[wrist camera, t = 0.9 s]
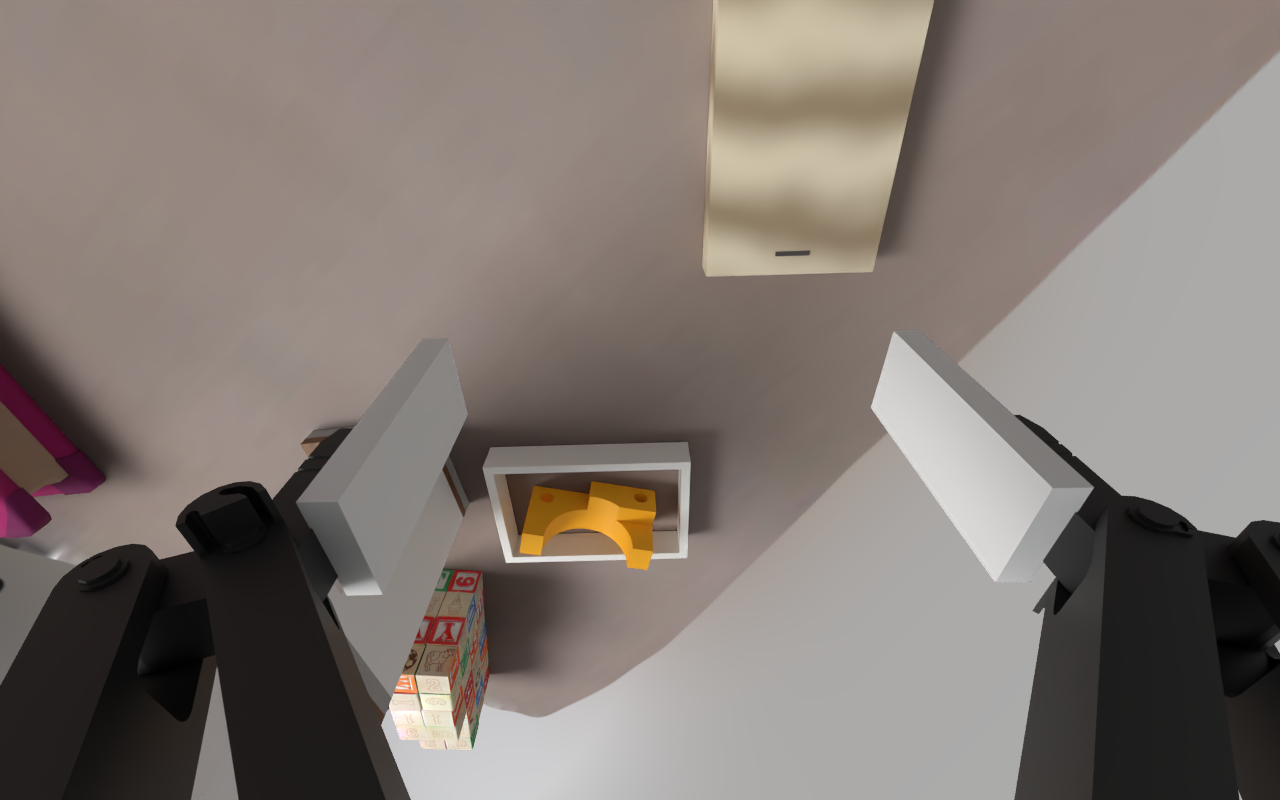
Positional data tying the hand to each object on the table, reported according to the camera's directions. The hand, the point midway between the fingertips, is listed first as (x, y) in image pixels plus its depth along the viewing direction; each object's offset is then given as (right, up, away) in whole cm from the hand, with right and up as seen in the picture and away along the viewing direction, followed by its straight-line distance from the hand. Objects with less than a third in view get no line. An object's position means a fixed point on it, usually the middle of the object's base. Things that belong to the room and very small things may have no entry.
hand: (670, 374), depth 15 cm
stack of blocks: (-23, -29, +47) cm, 59 cm away
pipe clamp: (-6, -11, +36) cm, 38 cm away
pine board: (+10, +19, +17) cm, 27 cm away
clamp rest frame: (-6, -10, +35) cm, 37 cm away
